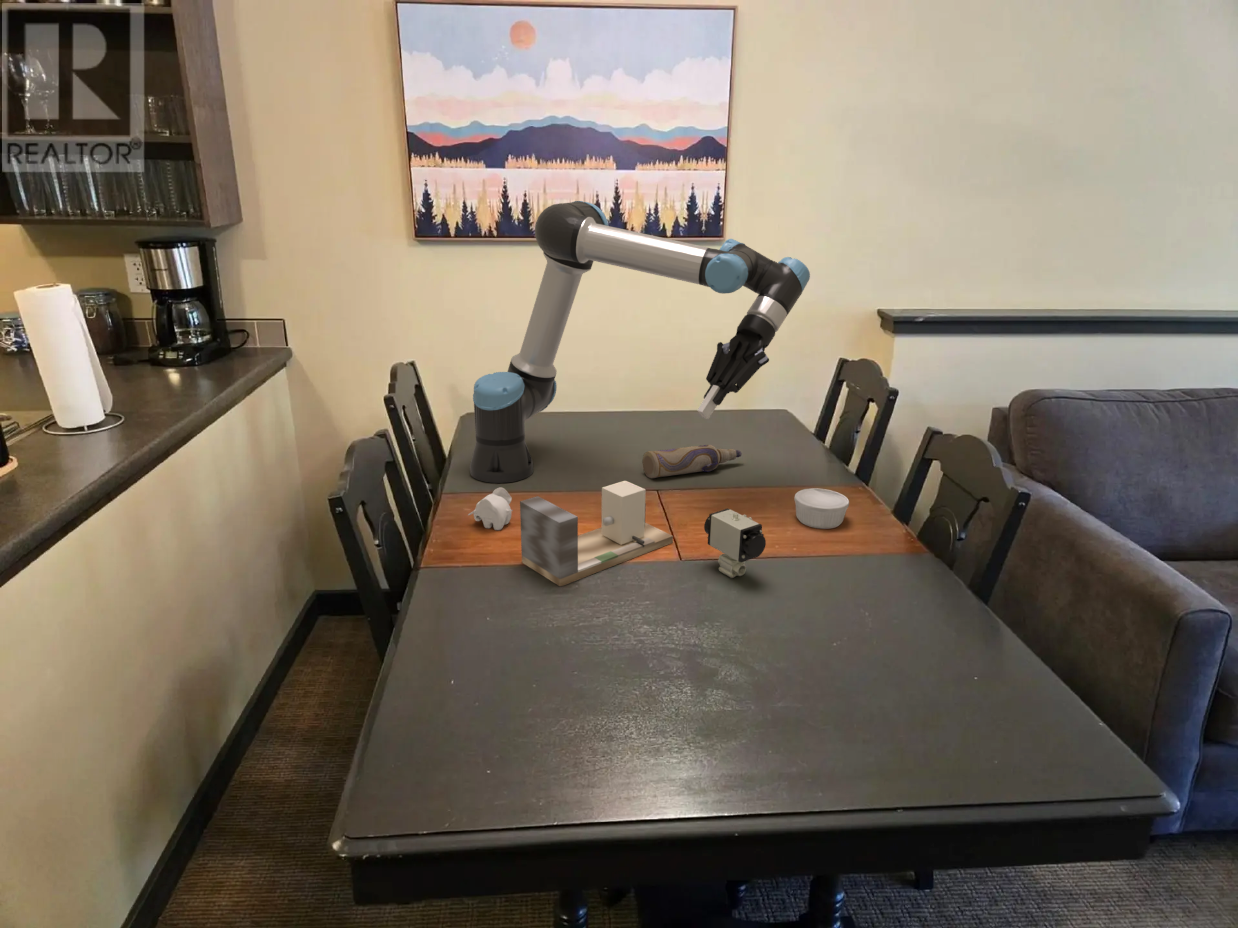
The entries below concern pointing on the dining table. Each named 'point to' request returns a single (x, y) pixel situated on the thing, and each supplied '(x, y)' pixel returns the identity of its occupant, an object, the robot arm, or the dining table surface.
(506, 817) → the dining table surface
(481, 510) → the elephant figurine
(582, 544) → the board
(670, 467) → the decorative bottle
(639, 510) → the block
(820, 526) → the ramekin
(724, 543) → the pneumatic valve
